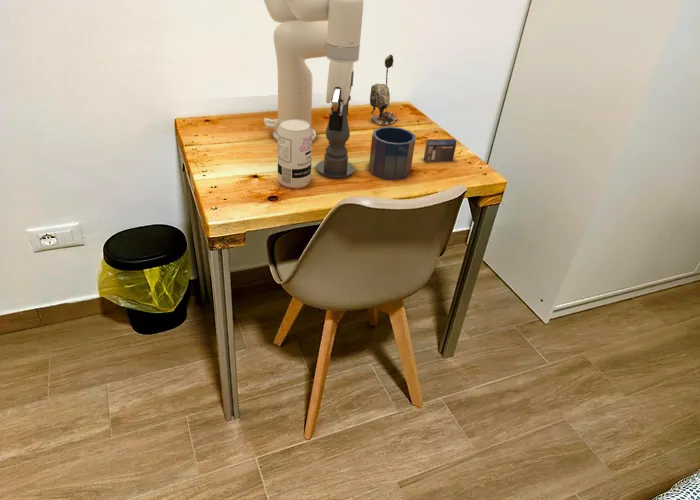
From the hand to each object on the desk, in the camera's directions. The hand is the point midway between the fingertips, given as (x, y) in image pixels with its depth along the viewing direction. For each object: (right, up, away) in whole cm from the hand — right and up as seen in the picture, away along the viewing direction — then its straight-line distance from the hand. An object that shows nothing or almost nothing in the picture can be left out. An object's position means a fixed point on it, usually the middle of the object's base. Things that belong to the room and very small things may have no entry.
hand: (338, 122), depth 130 cm
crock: (+13, -10, +10) cm, 20 cm away
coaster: (-1, -11, +8) cm, 13 cm away
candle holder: (-1, -10, +7) cm, 12 cm away
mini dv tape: (+28, -7, +17) cm, 33 cm away
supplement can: (-11, -15, +1) cm, 18 cm away
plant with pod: (+13, +10, +38) cm, 41 cm away
